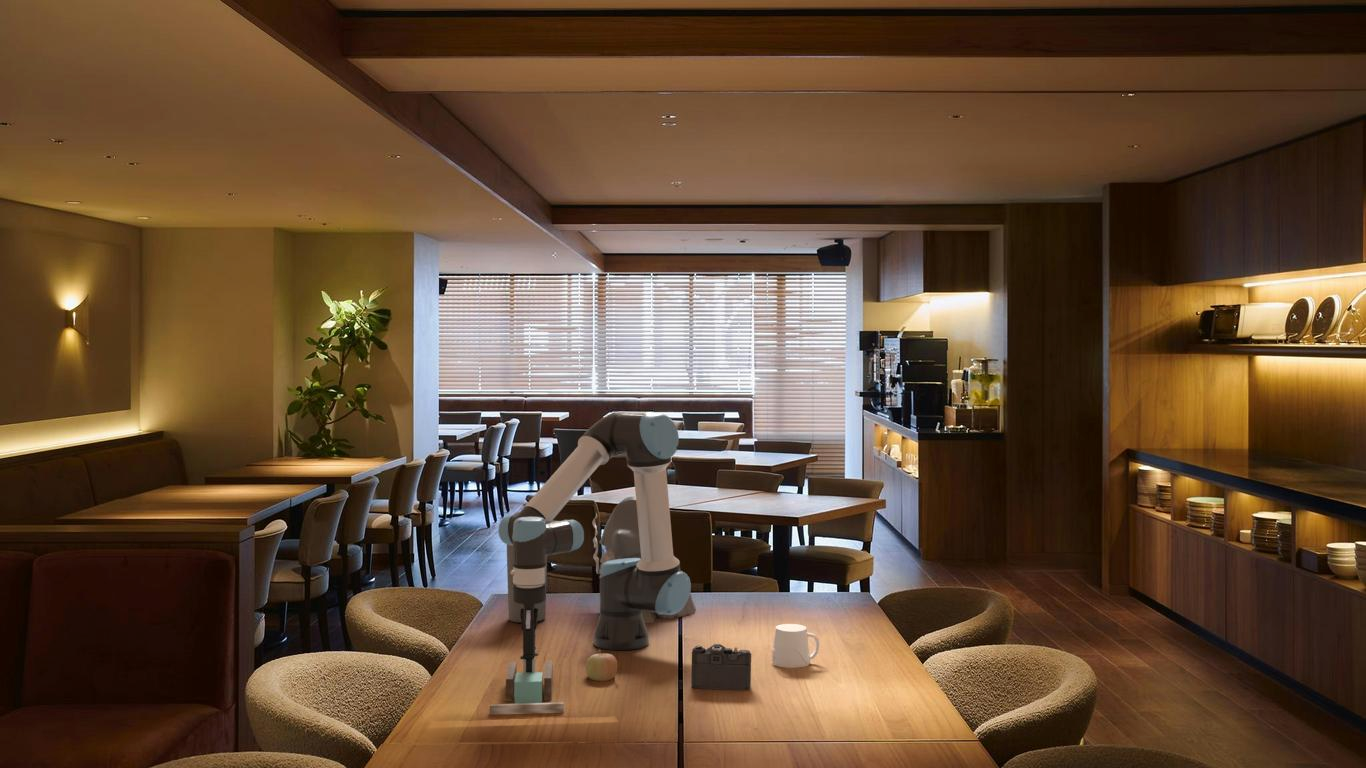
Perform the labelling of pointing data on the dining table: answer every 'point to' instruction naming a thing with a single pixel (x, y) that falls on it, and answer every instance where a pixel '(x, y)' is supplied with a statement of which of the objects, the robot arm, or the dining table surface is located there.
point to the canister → (512, 606)
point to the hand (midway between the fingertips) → (529, 685)
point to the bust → (628, 547)
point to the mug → (792, 646)
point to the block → (528, 687)
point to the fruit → (601, 667)
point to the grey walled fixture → (527, 707)
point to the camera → (721, 668)
